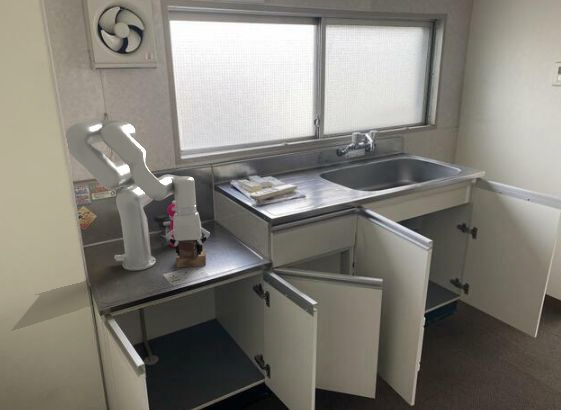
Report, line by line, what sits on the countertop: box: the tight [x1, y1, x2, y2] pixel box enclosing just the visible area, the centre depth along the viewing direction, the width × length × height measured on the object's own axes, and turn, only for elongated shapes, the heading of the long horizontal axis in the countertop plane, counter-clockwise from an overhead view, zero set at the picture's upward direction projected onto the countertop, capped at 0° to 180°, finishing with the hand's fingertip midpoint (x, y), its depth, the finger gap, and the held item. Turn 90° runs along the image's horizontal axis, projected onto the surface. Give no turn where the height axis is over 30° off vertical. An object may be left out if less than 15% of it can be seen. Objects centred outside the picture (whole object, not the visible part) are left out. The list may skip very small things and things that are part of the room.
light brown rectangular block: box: [175, 248, 207, 268], centre depth 176 cm, size 11×7×4 cm, turn 97°
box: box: [178, 240, 199, 260], centre depth 169 cm, size 6×6×7 cm
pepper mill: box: [167, 200, 176, 248], centre depth 192 cm, size 7×7×20 cm
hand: (189, 253), depth 170 cm, fingers open, 7 cm apart
